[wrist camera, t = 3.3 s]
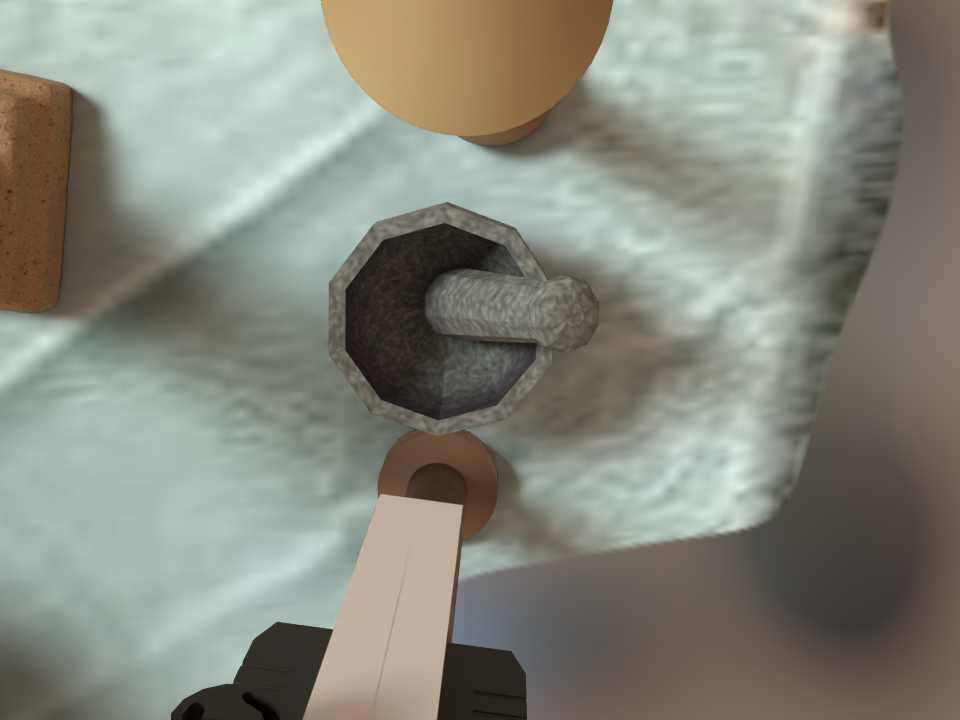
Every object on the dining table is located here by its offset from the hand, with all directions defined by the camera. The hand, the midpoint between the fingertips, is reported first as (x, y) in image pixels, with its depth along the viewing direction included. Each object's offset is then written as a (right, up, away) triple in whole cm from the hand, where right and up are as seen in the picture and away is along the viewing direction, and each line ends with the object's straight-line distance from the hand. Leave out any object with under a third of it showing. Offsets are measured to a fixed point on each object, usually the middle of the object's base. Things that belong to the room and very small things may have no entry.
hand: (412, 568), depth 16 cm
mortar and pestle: (0, +7, +28) cm, 29 cm away
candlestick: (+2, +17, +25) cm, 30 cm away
